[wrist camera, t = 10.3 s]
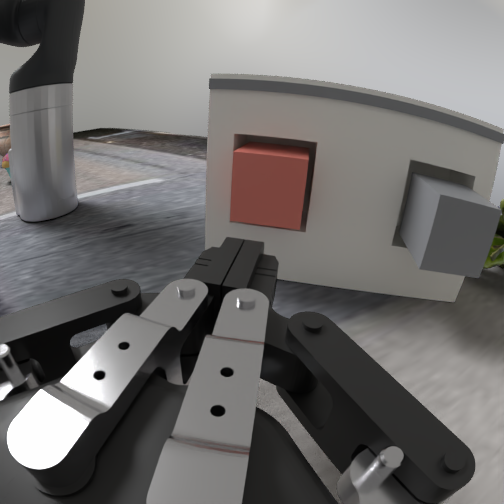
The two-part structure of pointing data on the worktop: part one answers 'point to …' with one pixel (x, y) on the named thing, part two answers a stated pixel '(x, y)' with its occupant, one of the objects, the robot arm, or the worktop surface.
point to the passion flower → (497, 244)
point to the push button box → (344, 176)
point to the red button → (269, 184)
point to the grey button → (447, 226)
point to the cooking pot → (5, 139)
